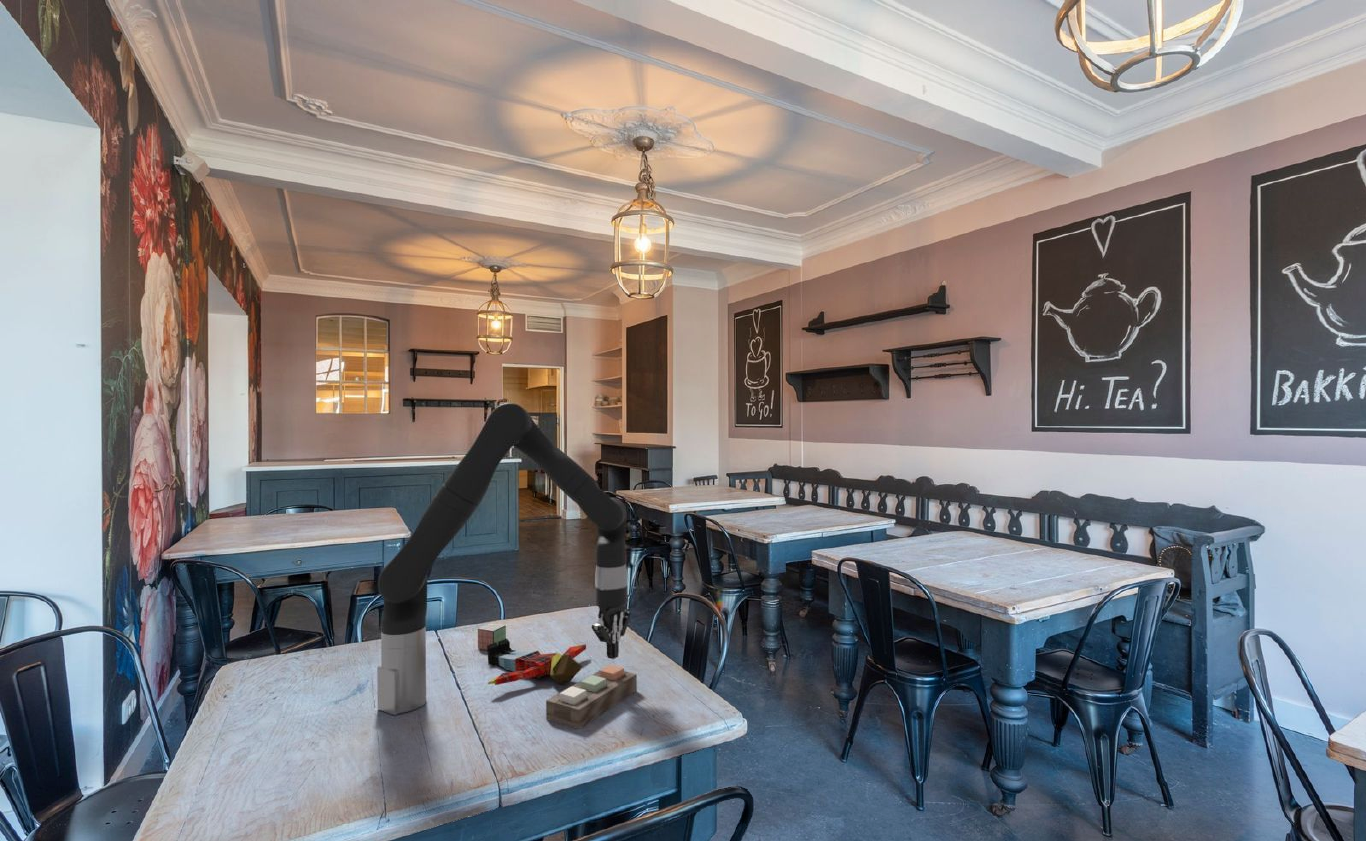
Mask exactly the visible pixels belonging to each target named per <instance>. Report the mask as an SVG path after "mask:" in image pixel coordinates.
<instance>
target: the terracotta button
mask: <svg viewBox="0 0 1366 841" xmlns="http://www.w3.org/2000/svg"><path fill="white" fill-rule="evenodd" d="M605 667H606V668H605ZM605 667H603V668H604V669H603V668H602V669H599V671H600V677H602V678H606V679H608V680H612V681H615V680H617V679H619V678H620V677H622V676H624V671H625V667H623V666H622V667H621V666H617V665H614V664H609V665H607V666H605Z"/></svg>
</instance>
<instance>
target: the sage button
mask: <svg viewBox="0 0 1366 841" xmlns="http://www.w3.org/2000/svg"><path fill="white" fill-rule="evenodd" d="M589 676H590V677H589ZM589 676H587V677H588V678H587V677H586V679H585V678H584V679H582V680H580V681H581V689H584V690H587V691H591V692H597V691H599V690H600V689H602V688H604V687H605V686H606V678H602V677H598V676H594V675H593V674H591V675H589Z"/></svg>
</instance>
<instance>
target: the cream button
mask: <svg viewBox="0 0 1366 841" xmlns="http://www.w3.org/2000/svg"><path fill="white" fill-rule="evenodd" d="M571 686H572V687H571ZM571 686H569V687H570V688H569V687H568V689H567V688H565V689H564V690H565V691H564V690H562V691H563V692H562V691H561V693H560V692H559V693H560V701H561V702H565V703H569V704H572V705H575V704H577V703H579V702H580V701H582V700H584V699H585V698H586V690H584V689H580V688H576V687H573V685H571Z"/></svg>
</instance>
